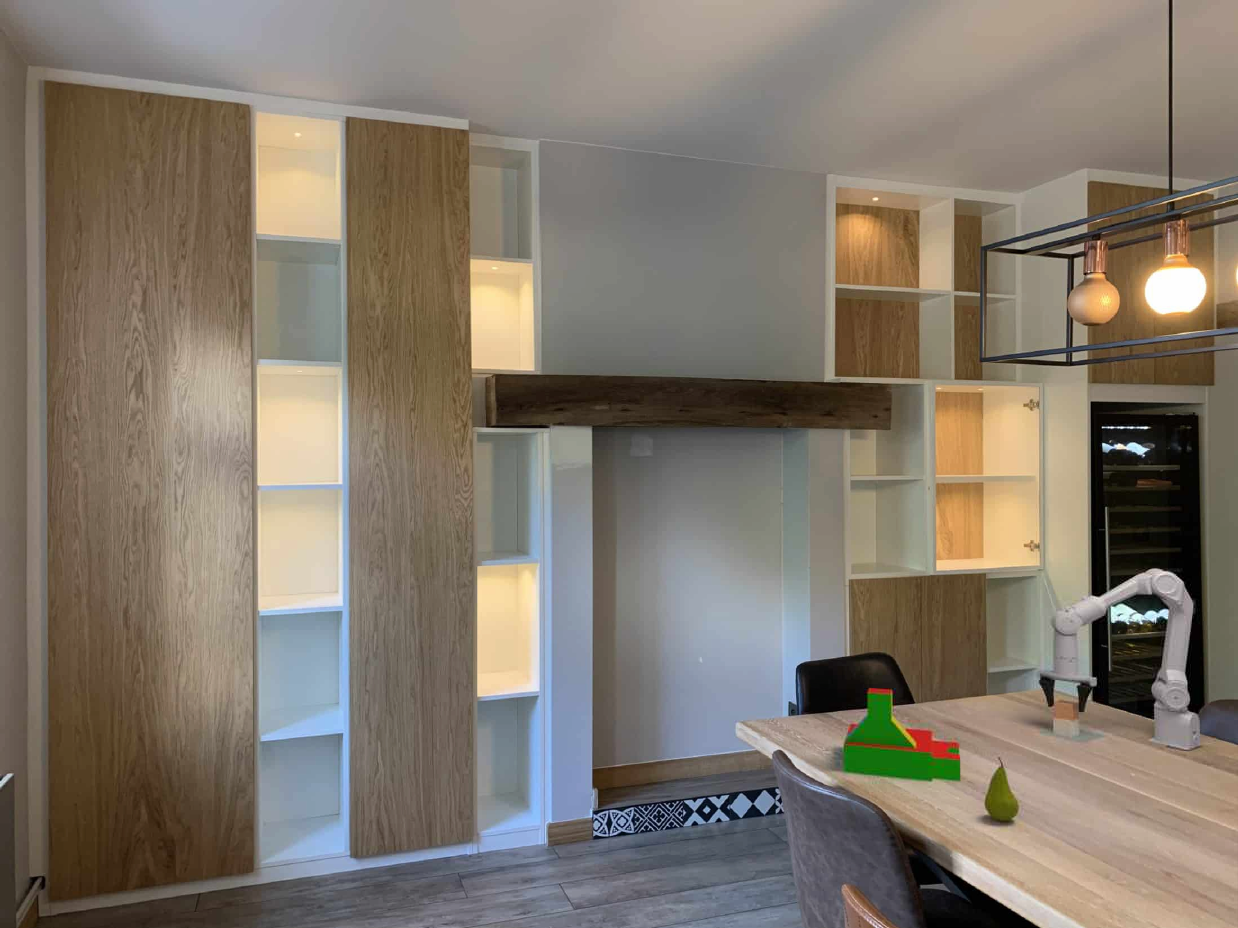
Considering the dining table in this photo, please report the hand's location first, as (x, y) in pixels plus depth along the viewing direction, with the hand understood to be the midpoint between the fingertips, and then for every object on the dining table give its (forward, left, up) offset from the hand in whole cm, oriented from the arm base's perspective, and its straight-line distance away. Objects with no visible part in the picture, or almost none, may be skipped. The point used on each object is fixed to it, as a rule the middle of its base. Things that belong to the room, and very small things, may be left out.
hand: (1066, 708), depth 232 cm
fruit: (-24, +69, -7) cm, 73 cm away
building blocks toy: (+9, +57, -8) cm, 58 cm away
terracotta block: (0, 0, -2) cm, 2 cm away
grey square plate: (-1, -1, -7) cm, 7 cm away
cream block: (0, 0, -6) cm, 6 cm away
